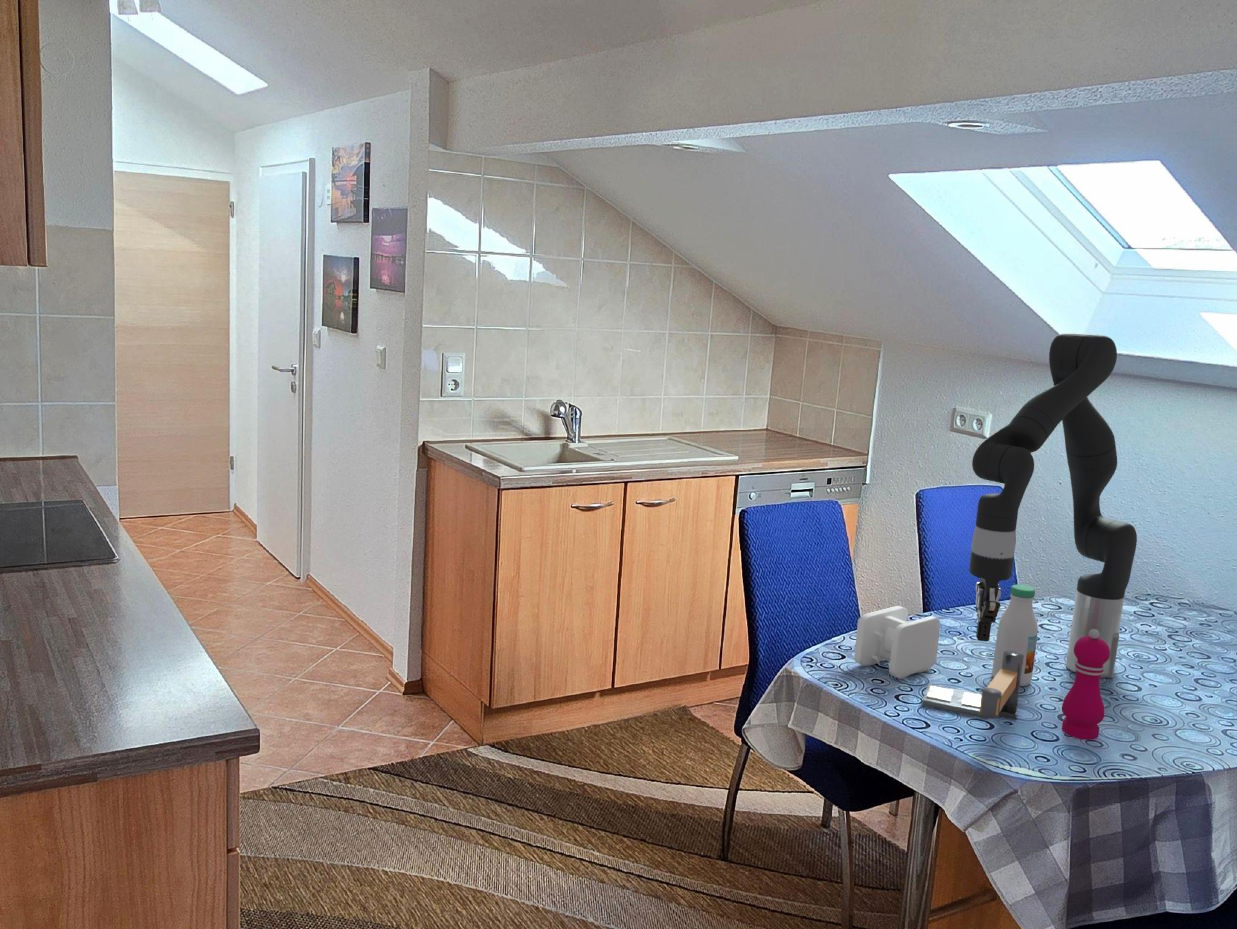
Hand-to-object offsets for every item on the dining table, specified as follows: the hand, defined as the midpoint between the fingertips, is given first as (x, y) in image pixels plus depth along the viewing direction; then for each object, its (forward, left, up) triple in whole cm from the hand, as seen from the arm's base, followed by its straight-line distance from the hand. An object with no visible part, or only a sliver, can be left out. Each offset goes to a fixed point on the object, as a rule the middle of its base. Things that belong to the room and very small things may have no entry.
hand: (982, 639), depth 197 cm
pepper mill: (-19, 0, -15) cm, 24 cm away
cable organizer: (+17, -15, -15) cm, 27 cm away
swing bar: (-4, +8, -9) cm, 13 cm away
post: (-6, -2, -15) cm, 16 cm away
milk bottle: (-6, -21, -15) cm, 27 cm away
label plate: (+3, -2, -15) cm, 15 cm away
